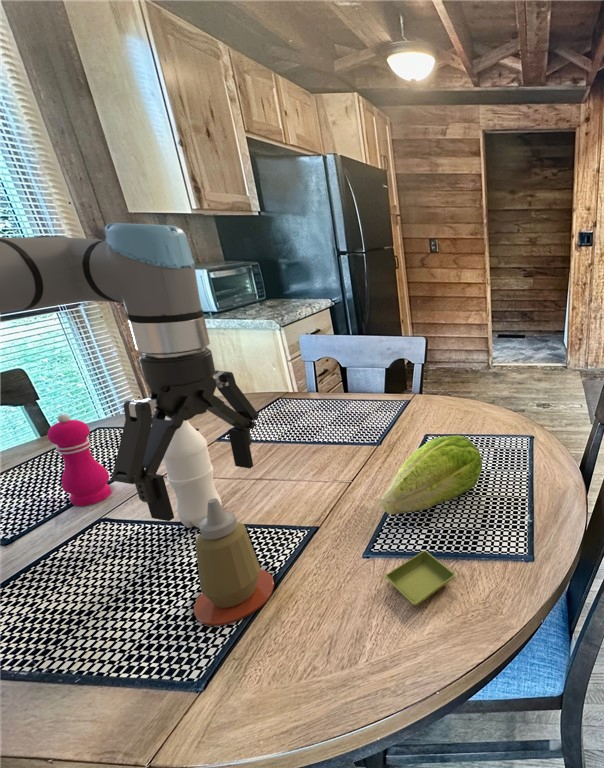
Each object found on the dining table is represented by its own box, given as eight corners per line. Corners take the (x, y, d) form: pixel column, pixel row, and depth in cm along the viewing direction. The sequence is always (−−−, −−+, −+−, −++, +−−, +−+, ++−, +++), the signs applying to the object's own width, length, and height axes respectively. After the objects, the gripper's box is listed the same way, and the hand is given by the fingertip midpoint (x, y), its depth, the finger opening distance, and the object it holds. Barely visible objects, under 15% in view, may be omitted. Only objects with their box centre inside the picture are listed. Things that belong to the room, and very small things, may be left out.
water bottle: (188, 513, 87) (158, 403, 79) (228, 507, 90) (202, 399, 81) (176, 535, 81) (141, 418, 73) (219, 527, 83) (190, 413, 75)
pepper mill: (82, 511, 87) (49, 424, 80) (60, 503, 89) (27, 418, 82) (122, 492, 93) (95, 410, 87) (101, 485, 96) (73, 405, 89)
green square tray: (456, 584, 72) (456, 574, 71) (414, 615, 66) (414, 605, 65) (425, 558, 77) (425, 549, 77) (384, 585, 71) (383, 575, 70)
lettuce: (356, 478, 90) (382, 474, 79) (444, 430, 106) (476, 421, 94) (385, 536, 91) (415, 540, 79) (468, 480, 107) (502, 477, 95)
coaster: (186, 598, 67) (185, 595, 67) (259, 561, 75) (259, 559, 75) (206, 640, 61) (205, 637, 61) (285, 595, 69) (284, 592, 68)
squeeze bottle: (202, 623, 63) (173, 524, 57) (208, 585, 69) (183, 493, 63) (264, 602, 66) (243, 507, 60) (263, 568, 73) (245, 480, 67)
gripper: (229, 328, 66) (251, 447, 73) (31, 376, 43) (91, 542, 50) (270, 332, 65) (289, 452, 72) (90, 383, 42) (143, 552, 49)
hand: (208, 489), depth 61 cm, fingers open, 13 cm apart
